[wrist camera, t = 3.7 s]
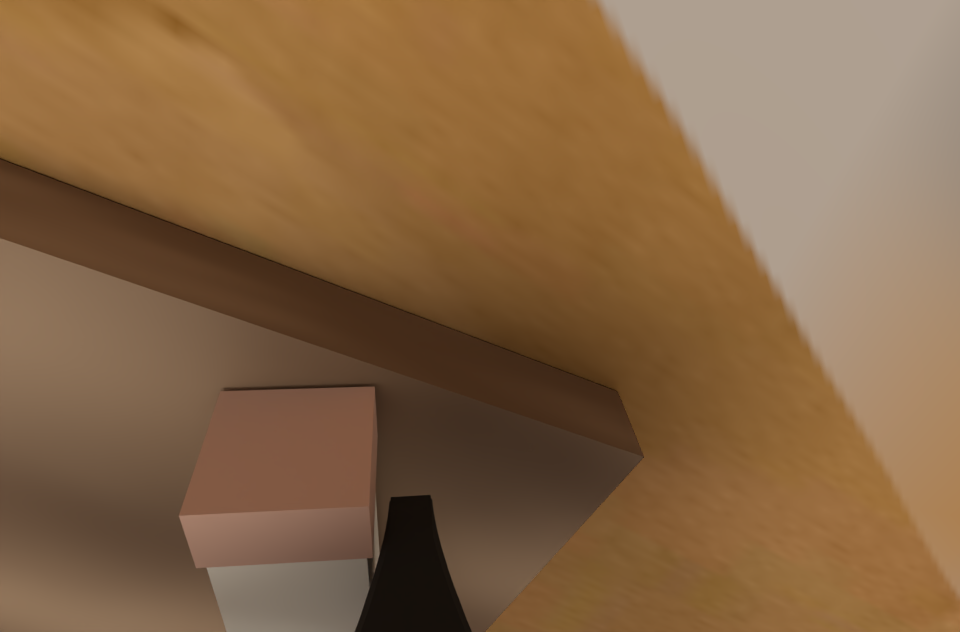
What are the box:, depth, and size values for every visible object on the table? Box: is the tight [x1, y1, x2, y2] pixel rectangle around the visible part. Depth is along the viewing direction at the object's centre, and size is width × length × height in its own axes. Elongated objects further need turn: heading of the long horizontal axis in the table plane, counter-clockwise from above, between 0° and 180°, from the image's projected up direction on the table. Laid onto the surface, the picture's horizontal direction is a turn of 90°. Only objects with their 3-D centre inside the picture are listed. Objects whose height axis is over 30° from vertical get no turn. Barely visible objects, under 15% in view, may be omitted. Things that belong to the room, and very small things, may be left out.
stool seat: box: [0, 159, 644, 632], centre depth 13 cm, size 14×16×5 cm
